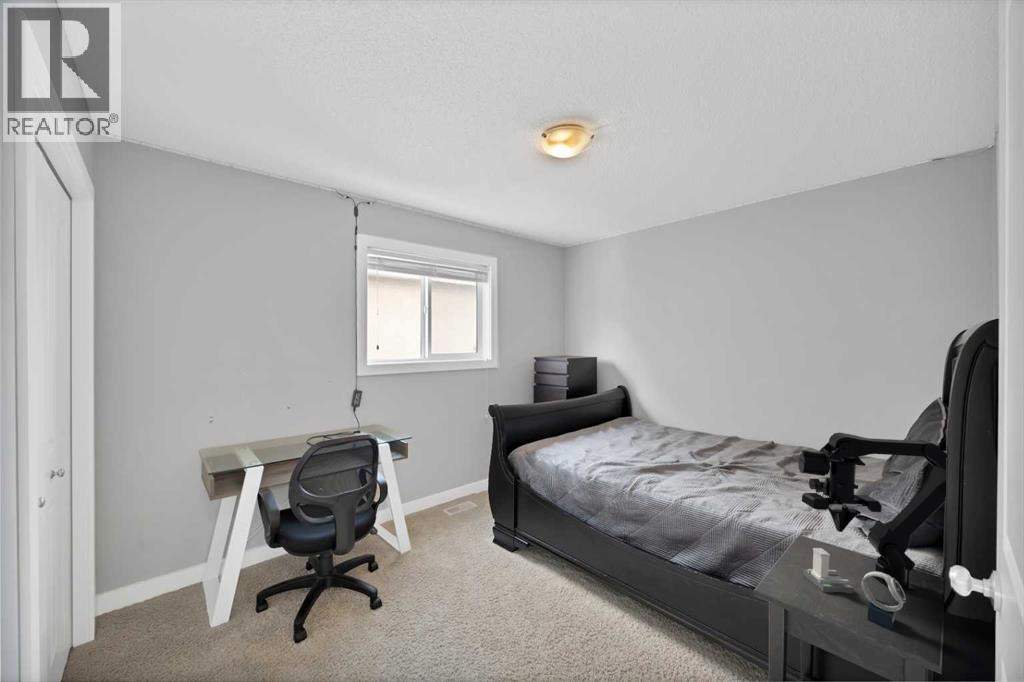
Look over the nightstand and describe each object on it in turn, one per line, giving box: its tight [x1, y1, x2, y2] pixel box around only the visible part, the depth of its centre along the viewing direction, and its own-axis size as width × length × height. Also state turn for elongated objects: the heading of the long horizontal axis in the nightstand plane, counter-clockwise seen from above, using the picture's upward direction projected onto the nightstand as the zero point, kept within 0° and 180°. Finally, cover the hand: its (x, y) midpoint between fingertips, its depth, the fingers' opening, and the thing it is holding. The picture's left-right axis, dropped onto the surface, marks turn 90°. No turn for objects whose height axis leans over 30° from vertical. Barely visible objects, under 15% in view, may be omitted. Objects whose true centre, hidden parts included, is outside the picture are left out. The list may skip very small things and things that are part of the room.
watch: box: [861, 570, 907, 631], centre depth 100 cm, size 6×8×11 cm
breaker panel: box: [802, 568, 855, 594], centre depth 115 cm, size 8×8×2 cm
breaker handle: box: [811, 547, 831, 580], centre depth 115 cm, size 3×3×7 cm
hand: (839, 531), depth 120 cm, fingers closed
